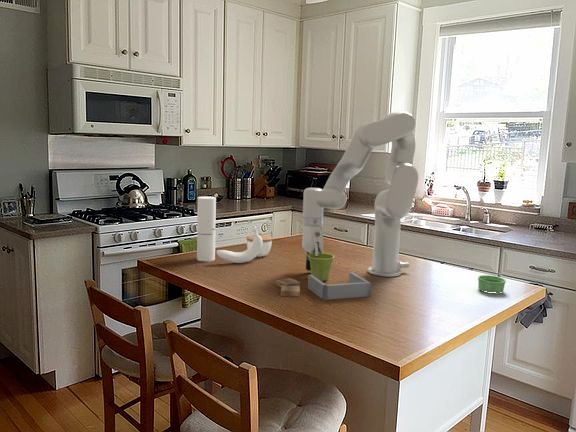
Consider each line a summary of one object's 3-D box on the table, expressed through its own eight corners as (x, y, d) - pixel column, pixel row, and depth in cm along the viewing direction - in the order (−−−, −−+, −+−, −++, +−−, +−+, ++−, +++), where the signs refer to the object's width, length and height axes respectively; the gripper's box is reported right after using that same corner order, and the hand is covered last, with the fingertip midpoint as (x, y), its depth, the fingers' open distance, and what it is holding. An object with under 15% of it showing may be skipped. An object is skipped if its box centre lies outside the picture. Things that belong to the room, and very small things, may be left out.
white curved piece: (215, 263, 202) (215, 226, 200) (258, 259, 212) (259, 223, 210) (220, 266, 198) (220, 228, 196) (264, 261, 208) (265, 225, 206)
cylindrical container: (218, 259, 210) (219, 197, 206) (206, 262, 204) (207, 199, 200) (205, 256, 213) (205, 196, 210) (193, 259, 207) (193, 197, 204)
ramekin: (487, 295, 174) (488, 282, 173) (471, 287, 182) (472, 275, 182) (510, 294, 176) (511, 281, 175) (493, 286, 185) (494, 274, 184)
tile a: (289, 283, 180) (289, 277, 180) (300, 287, 176) (300, 282, 175) (275, 286, 177) (275, 280, 177) (285, 290, 172) (286, 284, 172)
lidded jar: (240, 255, 218) (241, 233, 216) (256, 251, 226) (257, 230, 225) (261, 259, 212) (261, 236, 210) (276, 255, 220) (277, 233, 219)
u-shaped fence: (351, 284, 180) (352, 272, 179) (370, 296, 168) (371, 282, 167) (308, 287, 174) (308, 274, 174) (323, 300, 162) (324, 286, 161)
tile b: (299, 292, 171) (299, 286, 171) (299, 297, 165) (299, 291, 165) (281, 291, 171) (281, 285, 171) (280, 296, 165) (280, 290, 165)
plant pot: (331, 284, 180) (332, 259, 179) (304, 281, 182) (305, 257, 181) (334, 277, 189) (335, 253, 188) (309, 274, 191) (310, 251, 190)
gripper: (330, 224, 185) (327, 274, 188) (314, 218, 199) (312, 264, 202) (310, 225, 183) (308, 275, 186) (296, 218, 197) (294, 265, 200)
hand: (310, 269), depth 194 cm, fingers closed
